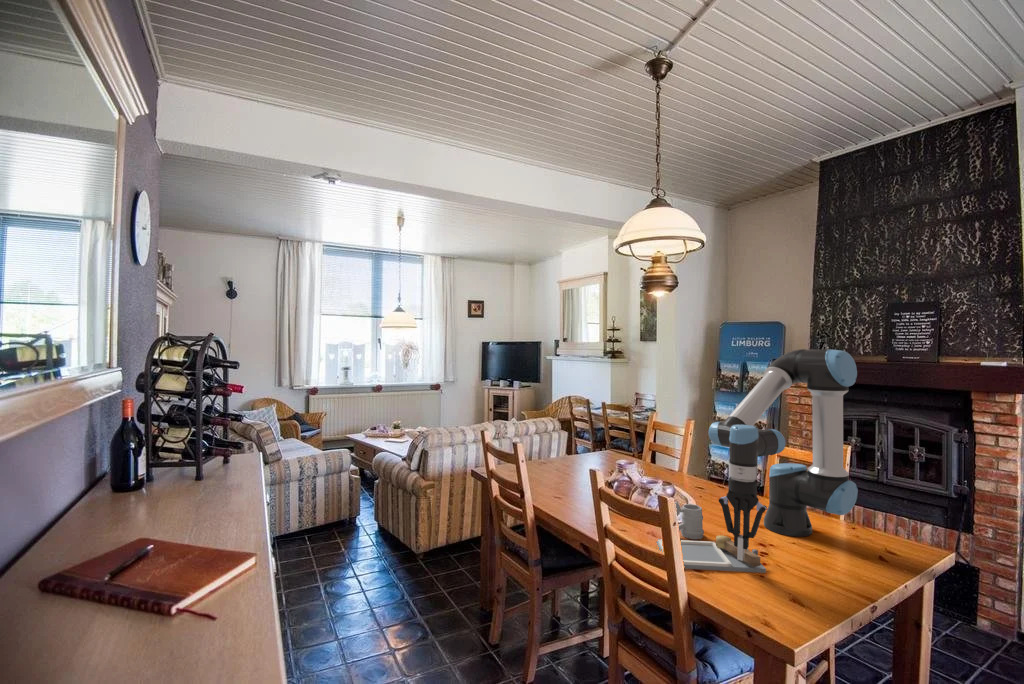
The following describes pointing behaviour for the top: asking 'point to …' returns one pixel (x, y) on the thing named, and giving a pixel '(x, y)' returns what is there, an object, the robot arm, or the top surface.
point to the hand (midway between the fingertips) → (740, 558)
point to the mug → (691, 521)
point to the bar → (728, 545)
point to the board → (712, 557)
